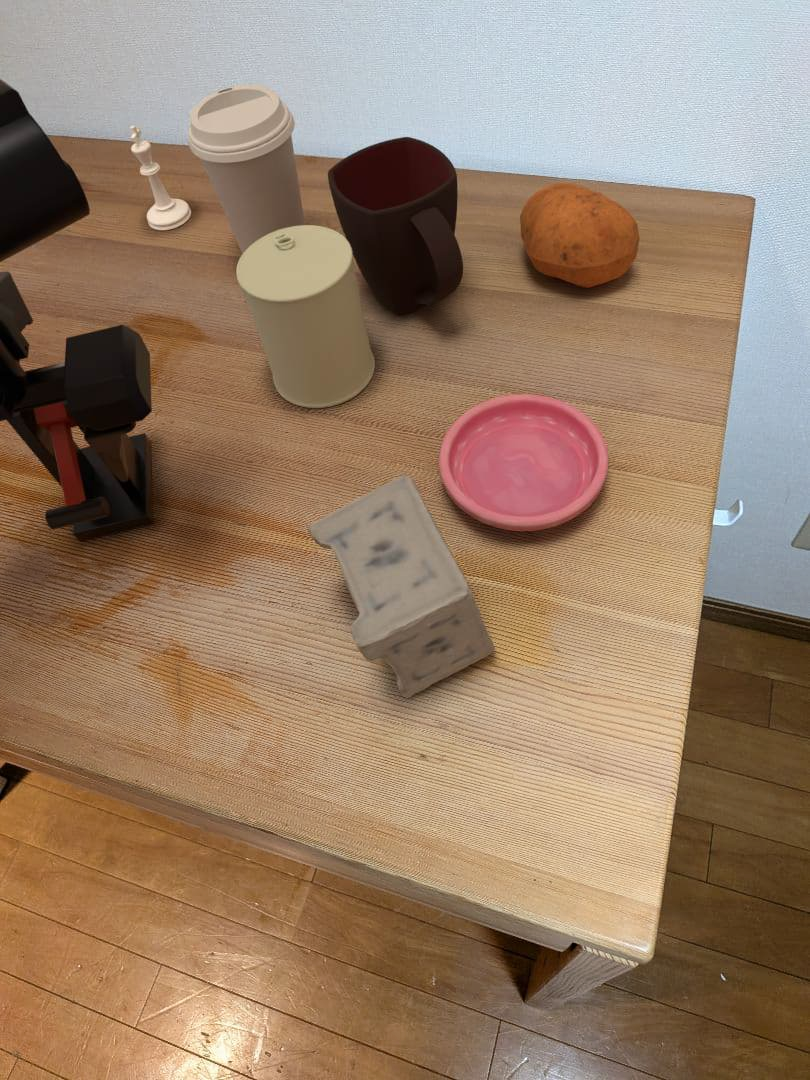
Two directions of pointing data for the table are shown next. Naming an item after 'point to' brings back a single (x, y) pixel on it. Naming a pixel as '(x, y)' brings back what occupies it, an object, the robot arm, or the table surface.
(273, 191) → the coffee cup
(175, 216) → the chess piece
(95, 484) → the bracket
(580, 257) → the potato
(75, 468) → the lever
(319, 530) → the incense holder
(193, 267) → the table surface
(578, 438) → the saucer
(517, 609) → the table surface
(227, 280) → the table surface
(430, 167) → the mug
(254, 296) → the can
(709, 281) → the table surface
